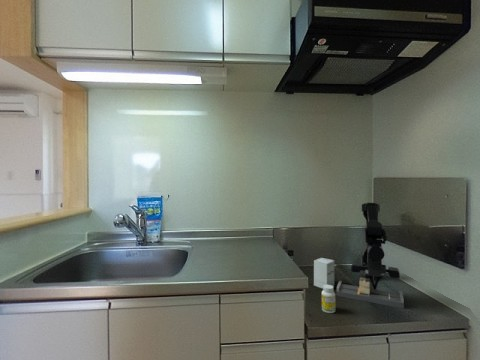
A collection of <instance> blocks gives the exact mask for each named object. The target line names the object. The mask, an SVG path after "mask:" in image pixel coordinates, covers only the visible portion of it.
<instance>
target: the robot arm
mask: <svg viewBox="0 0 480 360" xmlns="http://www.w3.org/2000/svg"><path fill="white" fill-rule="evenodd" d="M380 207H381V206H380V204H379V203H377V202H364V203H362V204H361V206H360V209H361V213H362V215H363V217H364V219H365V227H364V242H365V244H366V245H365V248H364V250H363V251H362V252H363V254H362V255H361V262H352V263H351V265H350V267H351V268H350V271H351V272H352V273H356V274H359V273H360V272H361V271H364V274H363V277H362V278H366V279H370V284H371V286H372V289H375V290H377V287H378V284H379V282H380V280H381V279H384V278H385V274H387V275H388V276H389V277H390V278H393V279H394V278H395V279H400V278H401V277H400V275H401V274H400V269H399V268H398V267H393V266H388V268H387V266H386V265H387V264H383V259H384V258H385V252H384V248H383V245H385V244H386V242H387V232H386V230H385V228H383V225H382V223H381V222H380V221H379V217H378V216H379V213H380V212H381V209H380Z"/></svg>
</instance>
